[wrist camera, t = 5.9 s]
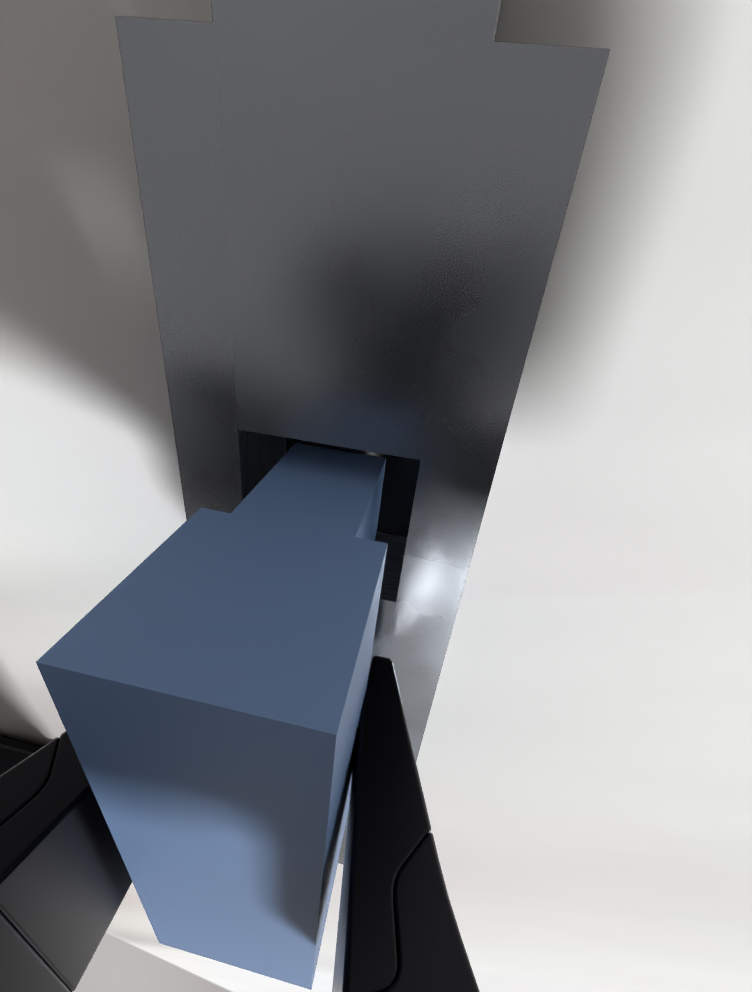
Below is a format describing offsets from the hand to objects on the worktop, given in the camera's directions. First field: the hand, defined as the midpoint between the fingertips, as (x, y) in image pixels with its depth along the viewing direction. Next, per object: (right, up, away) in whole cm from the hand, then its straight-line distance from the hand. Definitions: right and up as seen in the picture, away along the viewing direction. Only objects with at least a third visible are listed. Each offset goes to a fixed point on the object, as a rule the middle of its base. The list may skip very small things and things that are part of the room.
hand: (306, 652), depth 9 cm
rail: (+1, +2, +3) cm, 3 cm away
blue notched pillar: (0, +1, +2) cm, 2 cm away
